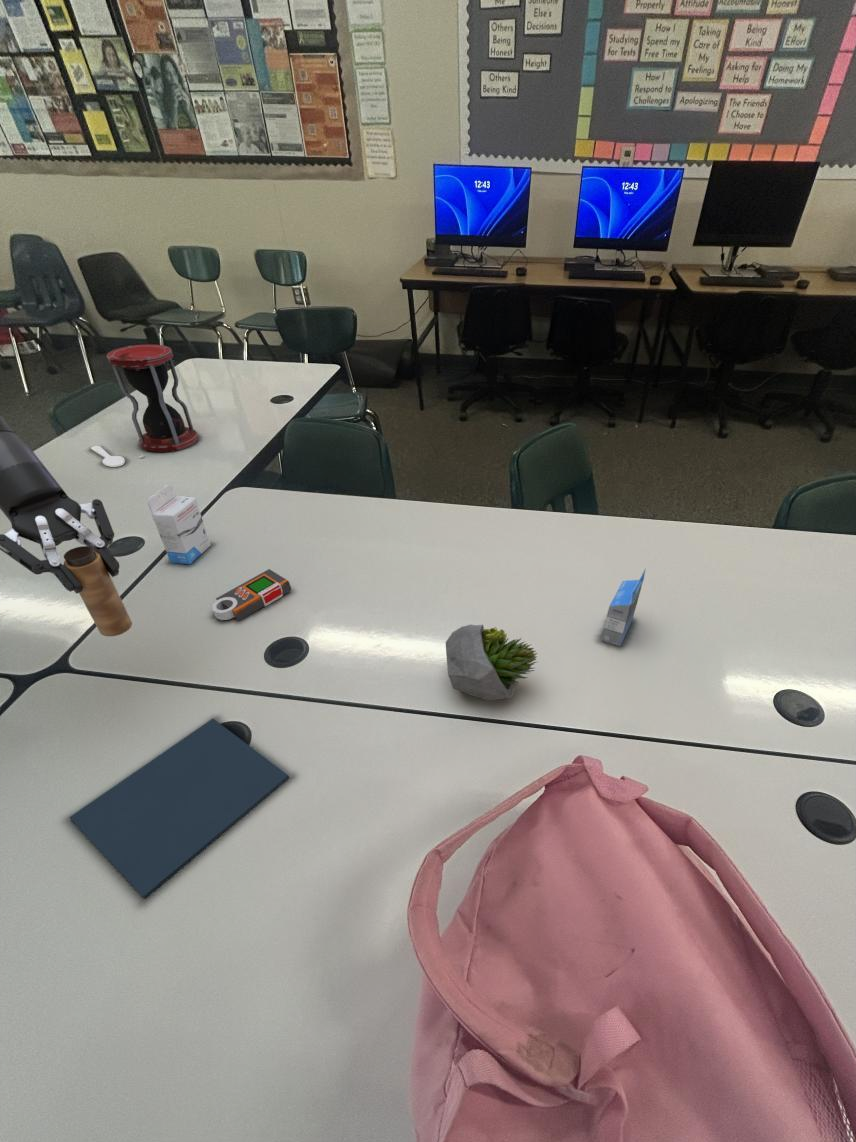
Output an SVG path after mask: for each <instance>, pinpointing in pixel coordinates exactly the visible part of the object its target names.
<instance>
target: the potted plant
mask: <svg viewBox="0 0 856 1142" xmlns="http://www.w3.org/2000/svg"><path fill="white" fill-rule="evenodd" d="M509 639H510V637H508V634H507V633H506V632H505V630H504V629H500V630H498V628H497V627H496V626H494V627H491V628H484V624H467V625H462V626H460V627H458V628H457V629H456V630H453V631H452V632H451V634H450V635H449V636H448V638H447V640H446V641H445V655H446V667H447V675H448V679H449V681H450V684H451V686H452V689H454V690H457V691H459V692H463V693H465V694H468V695H470V696H473V697H476V698H479V699H481V700H482V699H483V700H486V701H495V700H505V699H510V698H511V697H513V695H514V689H515V686H518V684H519V682H518V681H517V679H520V680H521V679H522V680H523V679H524V680H525V679H528V678H529V677H527V676H525V675H527V674H529V673H532V672H534V671H535V669H534V667H532V666H534V665H535V664H537V661H536V660H537V656H536V655H538V652H537V650H534V649H535V647H530V646H532V645H533V644H529V643H528V642H527V641H526V640H525V641H522V642H520V641H521V640H522V639H523V637H520V638H516V639H515V638H514V639H512V640H509Z"/></svg>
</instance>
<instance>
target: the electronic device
mask: <svg viewBox="0 0 856 1142" xmlns="http://www.w3.org/2000/svg"><path fill="white" fill-rule="evenodd" d="M290 591H292V587H291V583H290V581H289V580H288V579H286V578H285V577H283V575H281V574H279V573H277V572H275V571H274V570H271V569H270V568H268V569H266V570H264V571H263V572H261V573H260V574H257V575H256V576H254V577H251V579H248V580H246V581H244V582H243V583H241V584H239V585H237V586H236V587H234V588H232V589H230V590H229V591H227V592H225V593H223V594H221V595H219V596H218V597H216V598H215V601H214V602H213V603H212V604H211V610H212V613H213V615H214V617H215V618H216V619H217V620H219V621H226V620H227V621H228V620H231V619H236V621H238V622H239V621H241V620H243V619H245V618H247V617H249V616H250V615H252V614H253V613H255V612H256V611H259V610H260V609H261V608H264V607H265V608H266V607H267V606H269V605H271V604H272V603H274V602H276V601H277V600H279V599H281V598H282V597H283V596H284V595H285V594H287V593H289V592H290Z"/></svg>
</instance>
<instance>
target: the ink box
mask: <svg viewBox="0 0 856 1142" xmlns="http://www.w3.org/2000/svg"><path fill="white" fill-rule="evenodd" d="M164 494H165V496H163V495H164ZM161 496H163V497H162V498H161V499H160V497H161ZM158 499H159V500H158ZM146 502H147V505H148V507H149V510H150V513H151V516H152V520H153V522H154V524H155V527H156V529H157V532H158V535H159V537H160V540H161V542H162V545H163V548H164V550H165V552H166V555H167V558H168V559H169V562H170V563H174V564H183V565H191V564H193V562H195V561H196V559H197V558H199V557H200V556H201V555H202V554H203V553H204V552H205V551H206V550H208V549H209V547H211V546H212V544H211V541H210V538H209V535H208V532H207V529H206V526H205V523H204V520H203V516H202V513H201V511H200V507H199V504H198V501H197V499H196V497H194V496H193V497H192V496H185V495H176V492H175V490H174V486H173V484H172V483H171V482H168V484H166V485H165V486H163V487H161V489H159V490H157V492H155V493H154V494H152V495H151V496H149V497H148V498H147V500H146Z"/></svg>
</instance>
